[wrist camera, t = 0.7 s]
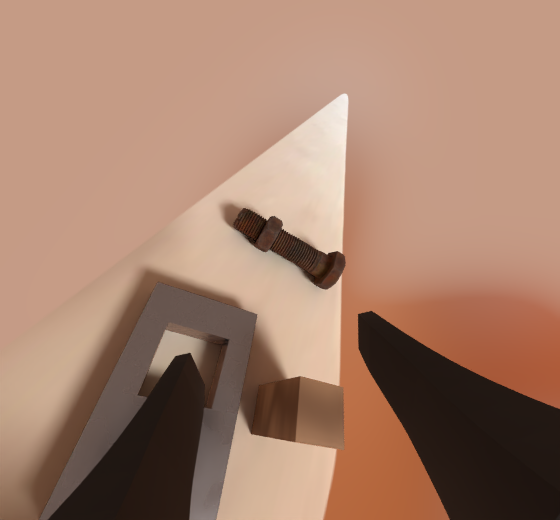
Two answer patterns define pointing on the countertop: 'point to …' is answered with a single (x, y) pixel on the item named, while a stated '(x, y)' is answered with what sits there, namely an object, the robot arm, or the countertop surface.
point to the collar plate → (126, 402)
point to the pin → (301, 412)
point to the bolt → (291, 247)
